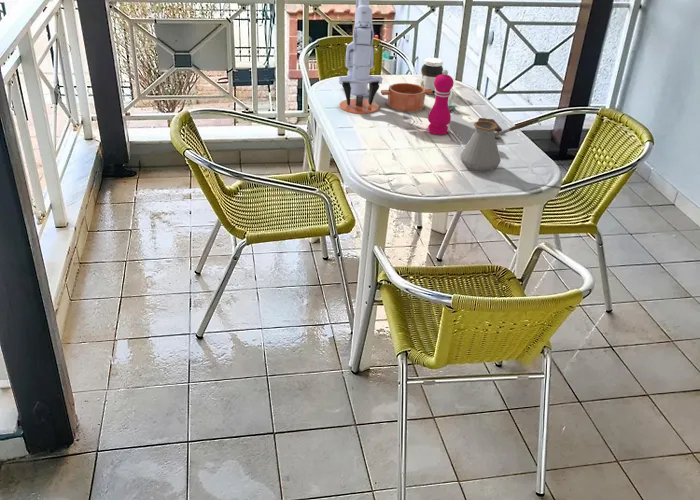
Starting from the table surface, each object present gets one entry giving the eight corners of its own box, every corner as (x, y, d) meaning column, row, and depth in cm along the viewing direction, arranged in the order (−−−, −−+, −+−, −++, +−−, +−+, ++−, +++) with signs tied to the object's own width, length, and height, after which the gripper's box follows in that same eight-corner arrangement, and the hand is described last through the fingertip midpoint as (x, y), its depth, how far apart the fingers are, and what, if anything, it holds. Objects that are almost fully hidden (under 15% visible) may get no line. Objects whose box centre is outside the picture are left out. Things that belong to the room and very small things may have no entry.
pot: (376, 101, 240) (377, 83, 237) (424, 100, 244) (426, 82, 241) (385, 113, 230) (386, 95, 227) (435, 112, 234) (437, 94, 230)
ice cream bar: (506, 139, 215) (491, 122, 227) (506, 134, 214) (492, 118, 226) (490, 139, 214) (476, 122, 227) (490, 134, 213) (477, 117, 226)
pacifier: (442, 112, 234) (458, 111, 235) (443, 95, 230) (459, 94, 232) (434, 105, 240) (449, 104, 241) (435, 88, 236) (451, 87, 238)
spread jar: (416, 87, 257) (419, 56, 251) (445, 86, 259) (449, 56, 253) (425, 97, 247) (428, 65, 241) (454, 97, 249) (459, 65, 243)
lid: (335, 102, 237) (336, 89, 235) (373, 101, 240) (374, 88, 237) (343, 115, 226) (344, 102, 223) (382, 114, 228) (383, 101, 226)
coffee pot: (463, 175, 189) (471, 124, 182) (455, 158, 199) (461, 110, 191) (537, 176, 191) (548, 125, 184) (525, 159, 201) (534, 111, 194)
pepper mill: (448, 136, 214) (456, 74, 204) (425, 133, 215) (432, 71, 205) (449, 128, 220) (457, 67, 210) (427, 126, 221) (434, 65, 211)
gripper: (342, 68, 220) (340, 108, 227) (385, 67, 223) (382, 107, 230) (338, 62, 226) (336, 101, 233) (380, 61, 229) (377, 100, 236)
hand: (359, 104), depth 232 cm, fingers open, 7 cm apart
